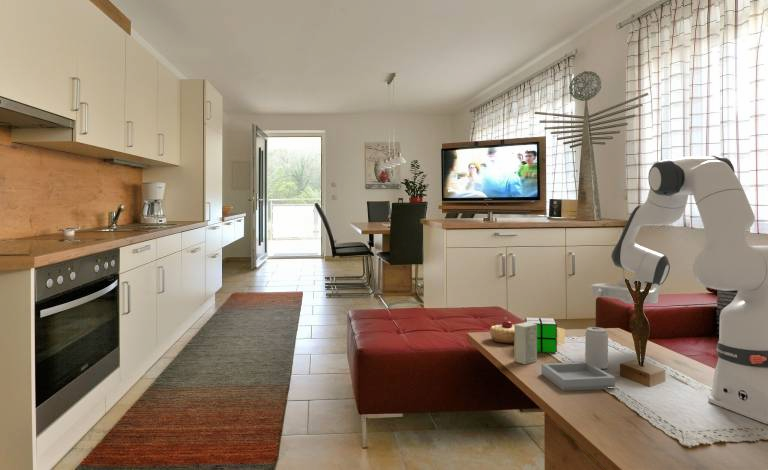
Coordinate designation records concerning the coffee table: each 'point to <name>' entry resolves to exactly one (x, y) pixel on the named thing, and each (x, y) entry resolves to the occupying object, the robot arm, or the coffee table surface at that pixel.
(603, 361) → the beverage can
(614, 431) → the coffee table surface
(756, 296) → the robot arm
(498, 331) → the pastry
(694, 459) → the coffee table surface
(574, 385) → the tray
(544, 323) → the puzzle cube
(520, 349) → the skincare box
